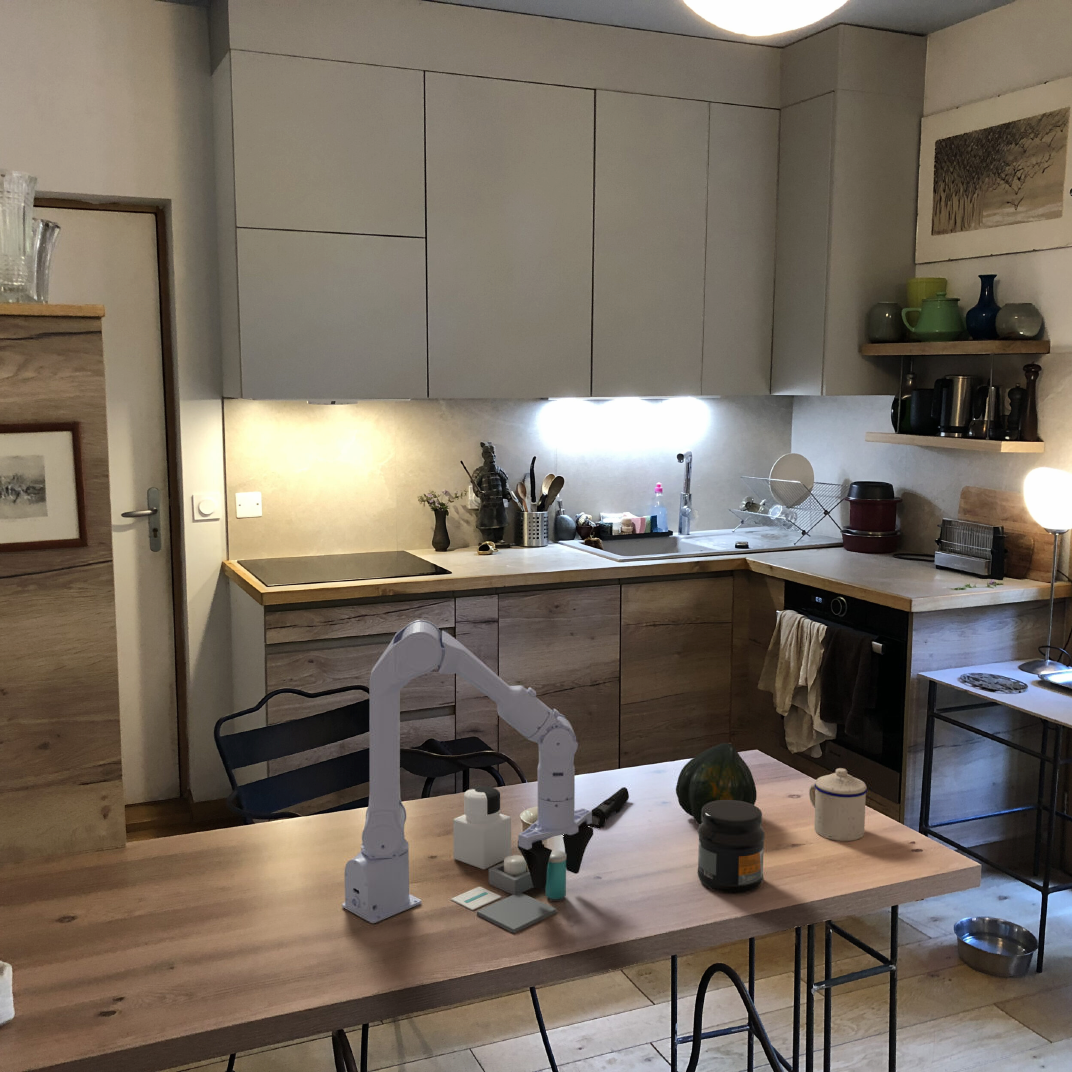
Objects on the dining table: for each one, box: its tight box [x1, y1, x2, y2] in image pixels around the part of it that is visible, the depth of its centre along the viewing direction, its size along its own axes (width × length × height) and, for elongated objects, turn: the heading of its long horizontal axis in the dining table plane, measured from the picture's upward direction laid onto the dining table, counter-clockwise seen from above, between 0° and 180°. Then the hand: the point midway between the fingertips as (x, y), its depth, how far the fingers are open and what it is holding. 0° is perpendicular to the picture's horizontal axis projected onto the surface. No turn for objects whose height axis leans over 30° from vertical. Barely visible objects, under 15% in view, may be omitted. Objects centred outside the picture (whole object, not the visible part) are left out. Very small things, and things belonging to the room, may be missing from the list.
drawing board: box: [476, 892, 557, 934], centre depth 163 cm, size 9×8×1 cm
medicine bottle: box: [452, 785, 512, 870], centre depth 182 cm, size 7×7×12 cm
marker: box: [544, 849, 567, 903], centre depth 168 cm, size 3×3×7 cm
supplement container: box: [697, 800, 766, 895], centre depth 173 cm, size 10×10×12 cm
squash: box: [675, 742, 758, 826], centre depth 199 cm, size 14×15×15 cm
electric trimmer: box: [587, 787, 630, 829], centre depth 203 cm, size 4×16×3 cm, turn 153°
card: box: [450, 886, 502, 911], centre depth 168 cm, size 6×5×1 cm
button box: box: [488, 862, 535, 896], centre depth 173 cm, size 6×6×2 cm
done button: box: [503, 854, 526, 877], centre depth 173 cm, size 4×4×3 cm
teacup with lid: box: [808, 767, 868, 842], centre depth 194 cm, size 12×9×12 cm
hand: (556, 879), depth 168 cm, fingers open, 7 cm apart
